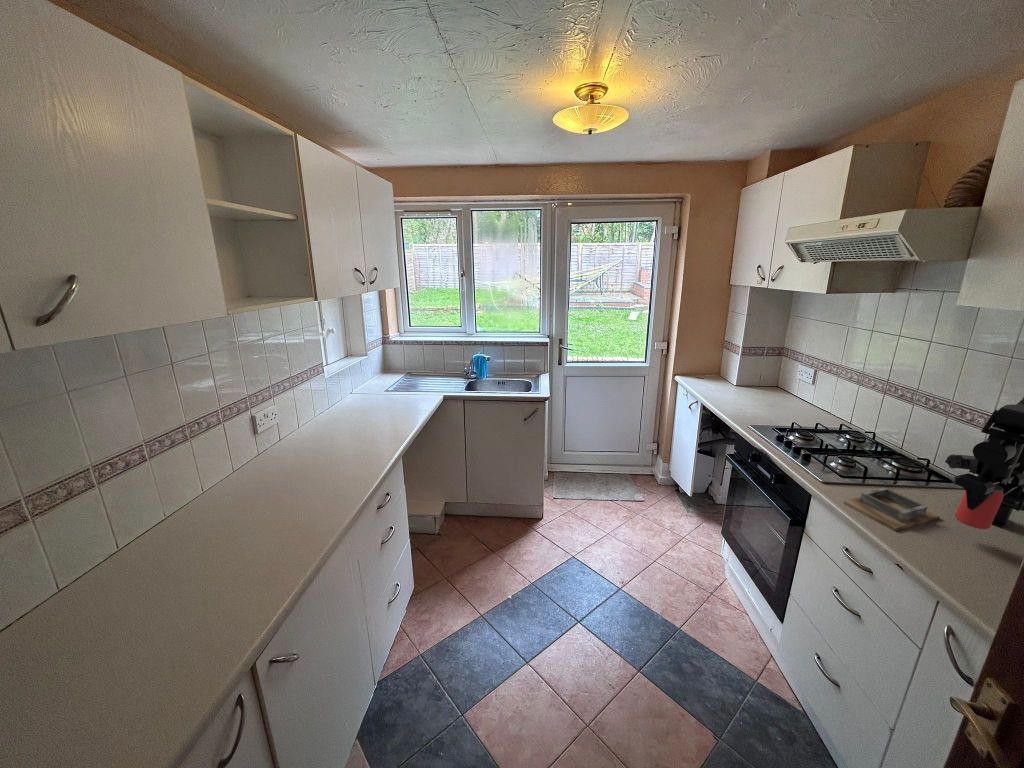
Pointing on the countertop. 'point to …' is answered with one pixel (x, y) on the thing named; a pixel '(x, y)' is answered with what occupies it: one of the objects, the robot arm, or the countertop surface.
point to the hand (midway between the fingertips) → (978, 506)
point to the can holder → (891, 509)
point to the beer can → (980, 510)
